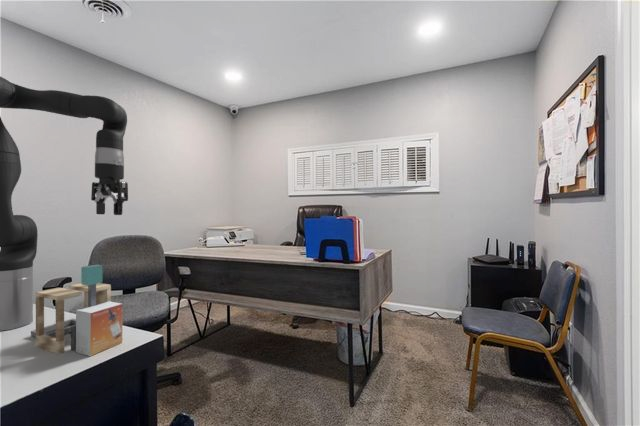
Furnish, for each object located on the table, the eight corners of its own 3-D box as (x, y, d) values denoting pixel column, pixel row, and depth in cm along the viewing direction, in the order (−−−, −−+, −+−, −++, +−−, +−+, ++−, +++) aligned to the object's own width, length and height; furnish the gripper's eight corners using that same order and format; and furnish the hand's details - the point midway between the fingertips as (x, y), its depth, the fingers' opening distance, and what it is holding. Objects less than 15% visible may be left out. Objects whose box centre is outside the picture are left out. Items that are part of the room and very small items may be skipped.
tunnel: (35, 346, 73) (35, 292, 73) (88, 328, 85) (88, 281, 84) (59, 354, 70) (59, 296, 70) (110, 334, 81) (110, 284, 81)
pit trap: (30, 336, 79) (30, 331, 79) (73, 323, 88) (73, 318, 88) (45, 341, 76) (45, 335, 76) (87, 327, 86) (87, 321, 86)
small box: (89, 357, 68) (89, 313, 68) (75, 352, 70) (74, 310, 70) (123, 342, 76) (123, 303, 76) (109, 339, 78) (109, 300, 78)
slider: (68, 349, 71) (68, 268, 71) (107, 335, 79) (107, 262, 79) (75, 351, 70) (74, 269, 70) (113, 336, 78) (113, 263, 78)
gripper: (82, 163, 91) (82, 214, 91) (111, 160, 86) (111, 215, 86) (107, 166, 98) (107, 214, 98) (136, 164, 93) (135, 215, 93)
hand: (109, 214), depth 92 cm, fingers open, 8 cm apart
